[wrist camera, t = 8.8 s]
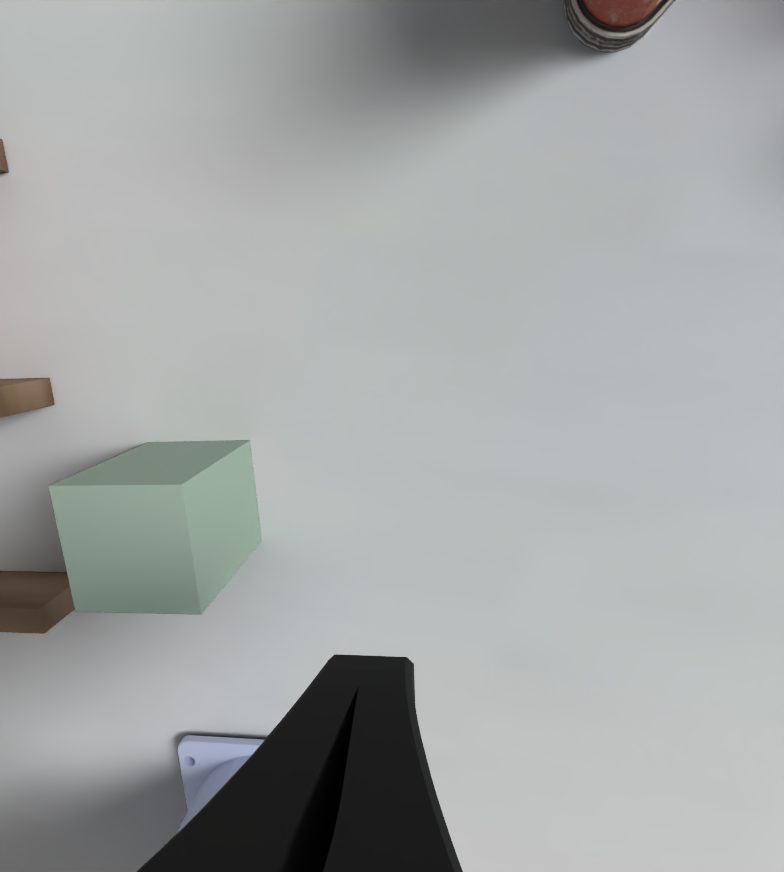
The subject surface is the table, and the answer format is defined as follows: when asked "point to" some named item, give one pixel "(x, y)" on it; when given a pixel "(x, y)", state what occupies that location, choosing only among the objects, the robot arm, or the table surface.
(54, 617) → the rack
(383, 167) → the table surface
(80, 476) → the sage block
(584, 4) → the red printed tin
